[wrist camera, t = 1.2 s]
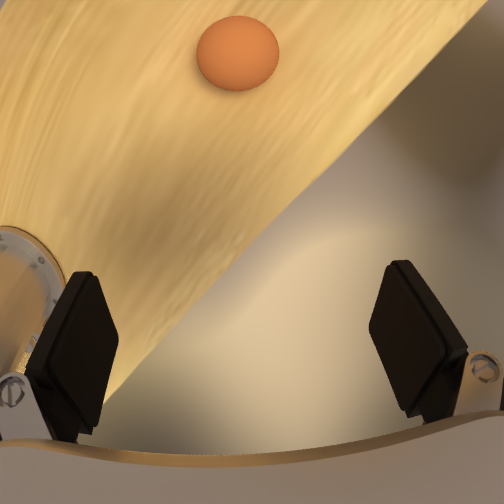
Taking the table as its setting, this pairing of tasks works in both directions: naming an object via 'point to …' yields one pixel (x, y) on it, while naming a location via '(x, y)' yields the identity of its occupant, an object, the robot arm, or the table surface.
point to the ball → (237, 53)
